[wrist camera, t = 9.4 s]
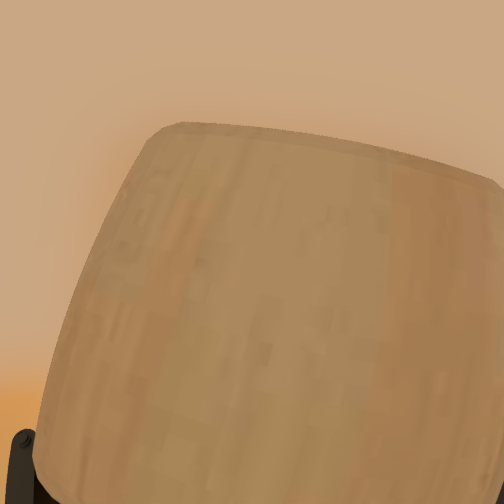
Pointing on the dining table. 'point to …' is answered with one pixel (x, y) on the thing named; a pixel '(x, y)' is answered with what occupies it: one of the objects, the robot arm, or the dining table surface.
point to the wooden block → (282, 330)
